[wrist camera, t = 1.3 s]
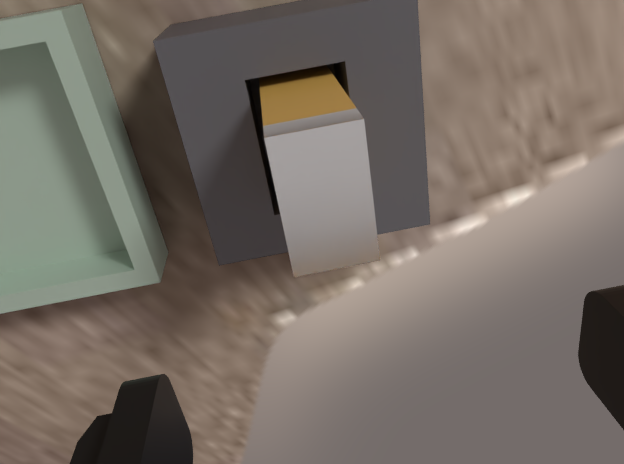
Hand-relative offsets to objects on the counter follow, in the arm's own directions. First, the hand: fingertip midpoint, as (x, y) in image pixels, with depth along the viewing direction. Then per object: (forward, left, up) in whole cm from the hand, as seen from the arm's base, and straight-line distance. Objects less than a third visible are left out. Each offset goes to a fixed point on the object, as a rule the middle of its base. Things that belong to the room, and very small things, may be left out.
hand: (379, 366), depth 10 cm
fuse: (0, 0, -18) cm, 18 cm away
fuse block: (0, 0, -18) cm, 18 cm away
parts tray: (-15, 0, -18) cm, 24 cm away
